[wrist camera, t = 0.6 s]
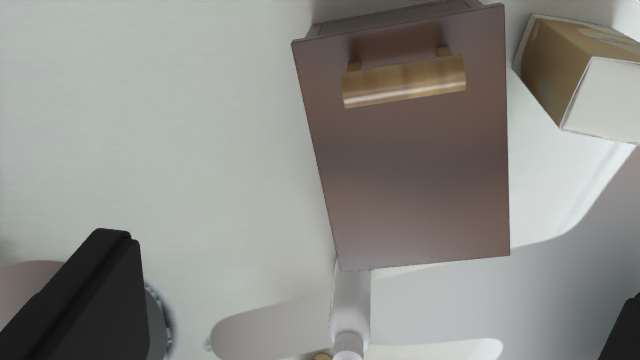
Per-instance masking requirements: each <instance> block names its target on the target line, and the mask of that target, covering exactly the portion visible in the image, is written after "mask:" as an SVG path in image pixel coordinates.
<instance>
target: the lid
mask: <svg viewBox="0 0 640 360" xmlns="http://www.w3.org/2000/svg"><path fill="white" fill-rule="evenodd" d="M291 47H292V51H293V56H294V60H295V65H296V70H297V74H298V79H299V83H300V88H301V92H302V97H303V102H304V106H305V111H306V115H307V120H308V124H309V129H310V134H311V138H312V143H313V147H314V152H315V156H316V161H317V166H318V170H319V175H320V179H321V184H322V188H323V193H324V198H325V202H326V207H327V211H328V216H329V220H330V225H331V229H332V234H333V239H334V243H335V248H336V252H337V257H338V261H339V266H340V271H341V272H347V271H357V270H368V269H378V268H388V267H398V266H409V265H419V264H429V263H440V262H450V261H460V260H471V259H480V258H490V257H502V256H509V255H510V226H509V183H508V139H507V96H506V53H505V10H504V4H502V3H496V4H490V5H484V6H479V7H473V8H468V9H462V10H457V11H451V12H446V13H440V14H434V15H429V16H423V17H418V18H412V19H407V20H401V21H396V22H390V23H384V24H379V25H373V26H368V27H362V28H357V29H351V30H346V31H340V32H335V33H329V34H323V35H318V36H312V37H307V38H301V39H296V40H293V41H292V42H291Z"/></svg>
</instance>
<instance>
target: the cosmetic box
mask: <svg viewBox="0 0 640 360" xmlns="http://www.w3.org/2000/svg"><path fill="white" fill-rule="evenodd" d="M512 69H513V71H514V72H515V73H516V75H517V76H518V77H519V78H520V79H521V81H522V82H523V83H524V85H525V86H526V87H527V88H528V90H529V91H530V92H531V94H532V95H533V96H534V97H535V99H536V100H537V101H538V102H539V104H540V105H541V106H542V107H543V109H544V110H545V111H546V112H547V114H548V115H549V116H550V117H551V119H552V120H553V121H554V122H555V124H556V125H557V126H558V128H559V129H560V130H561V131H566V132H571V133H576V134H581V135H586V136H591V137H597V138H601V139H606V140H612V141H617V142H623V143H629V144H634V145H640V43H639V42H637V41H635V40H634V39H632V38H630V37H628V36H626V35H624V34H622V33H620V32H619V31H617V30H615V29H613V28H609V27H605V26H600V25H596V24H591V23H587V22H582V21H576V20H571V19H565V18H559V17H552V16H545V15H539V14H531V16H530V19H529V21H528V24H527V26H526V29H525V31H524V34H523V37H522V39H521V42H520V45H519V47H518V50H517V53H516V56H515V59H514V62H513V65H512Z"/></svg>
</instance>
